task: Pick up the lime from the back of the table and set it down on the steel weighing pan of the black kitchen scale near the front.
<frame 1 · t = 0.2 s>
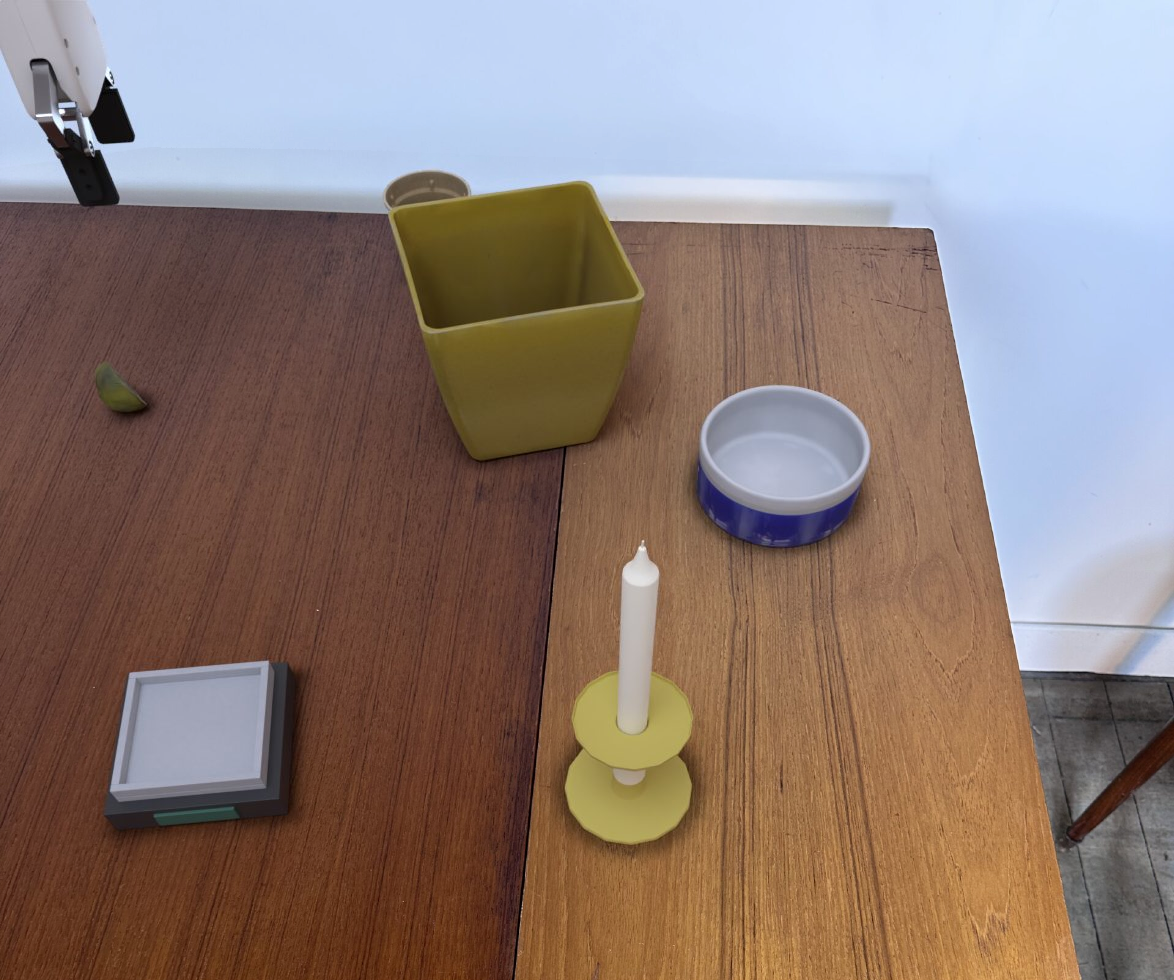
hand: (109, 171, 83), 21 cm above the table, tool pointing down, fingers open, 9 cm apart
candle: (628, 789, 76), on the table
flower pot 2: (523, 413, 99), on the table
flower pot: (438, 272, 111), on the table
scale: (210, 751, 78), on the table
dog bowl: (774, 492, 93), on the table
lime: (131, 410, 99), on the table
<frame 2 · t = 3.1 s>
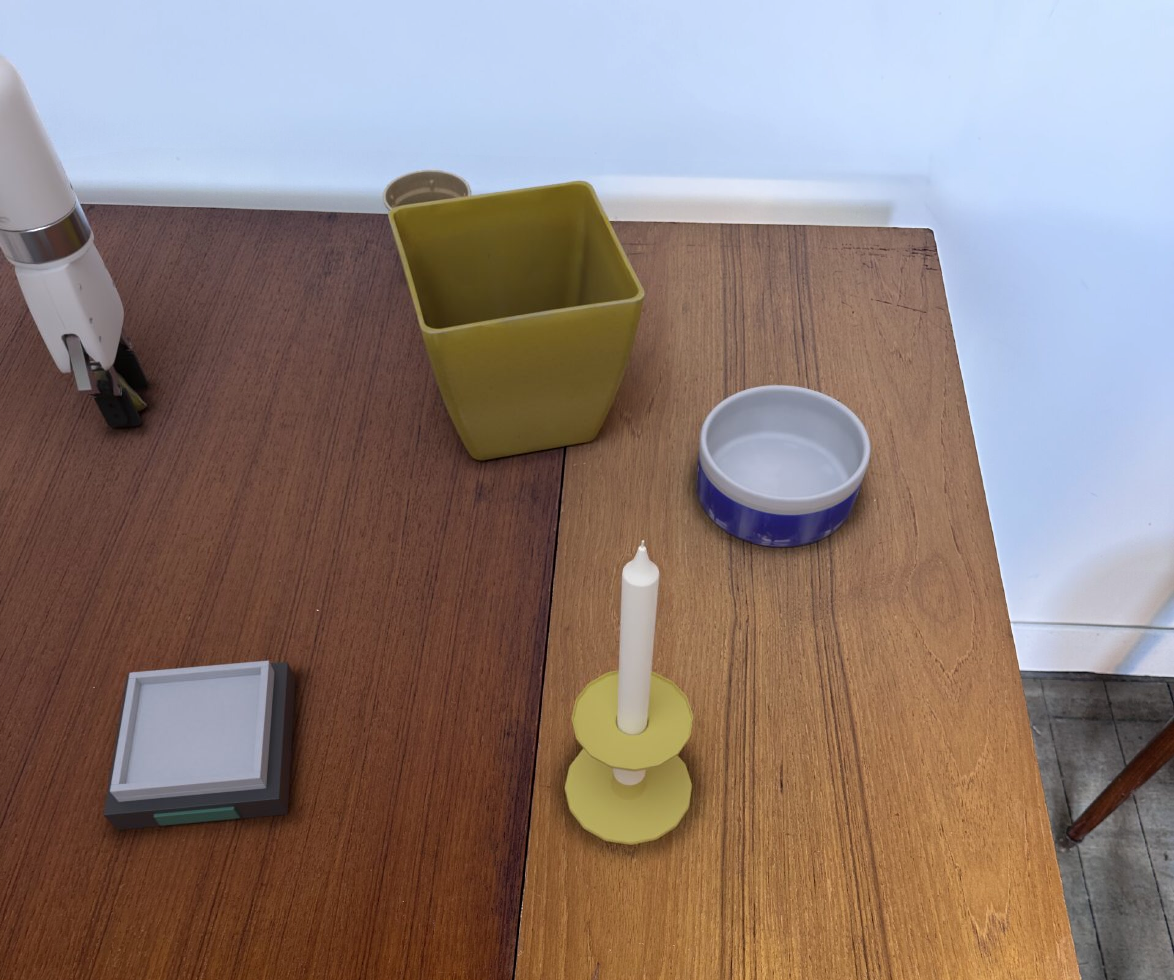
hand: (129, 404, 99), 0 cm above the table, tool pointing down, fingers closed on lime, 5 cm apart
lime: (131, 411, 99), on the table, touching gripper
everything else where it was.
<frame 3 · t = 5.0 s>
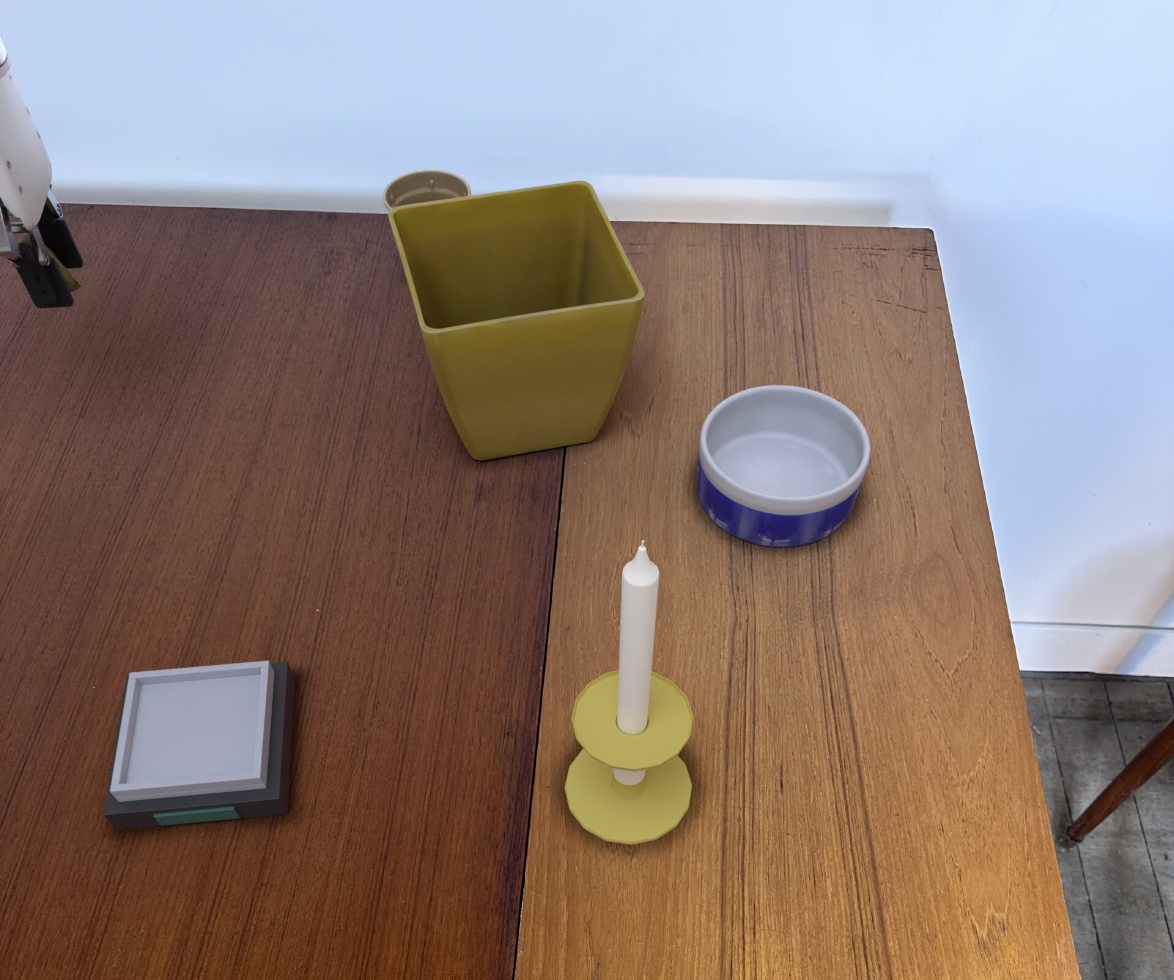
hand: (60, 284, 86), 14 cm above the table, tool pointing down, fingers closed on lime, 5 cm apart
lime: (63, 292, 86), point 14 cm above the table, touching gripper
everything else where it was.
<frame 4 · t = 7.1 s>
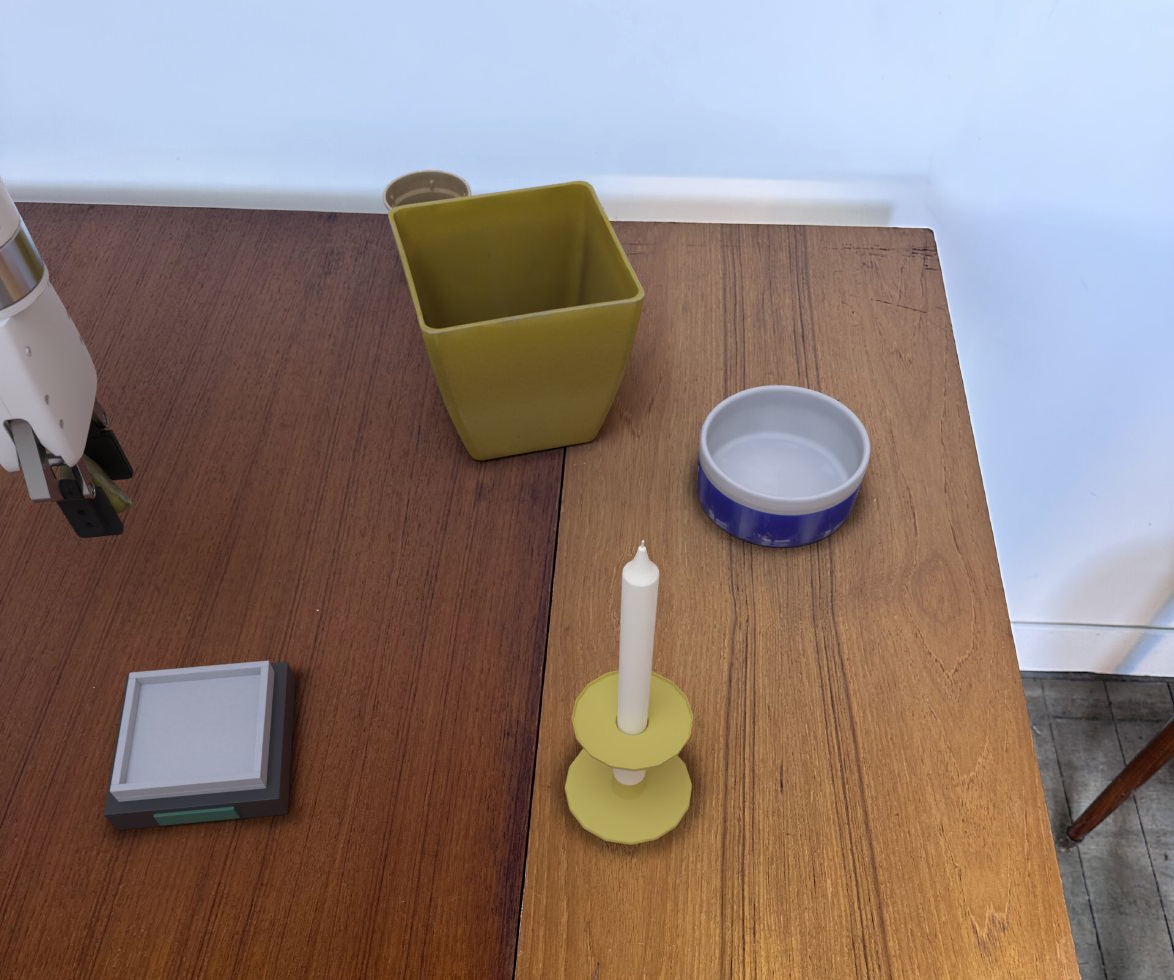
hand: (106, 503, 71), 16 cm above the table, tool pointing down, fingers closed on lime, 5 cm apart
lime: (111, 511, 71), point 15 cm above the table, touching gripper
everything else where it was.
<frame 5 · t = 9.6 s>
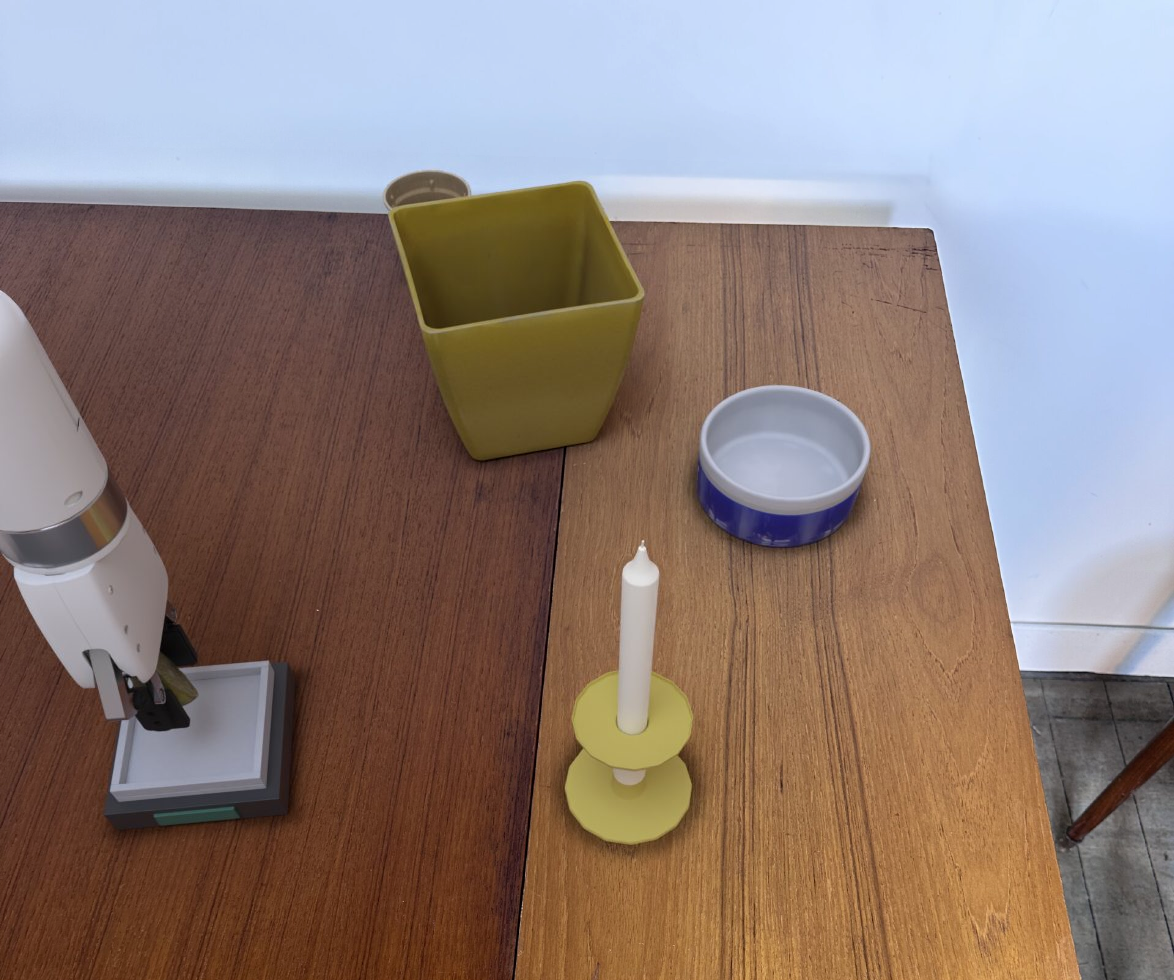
hand: (172, 692, 71), 8 cm above the table, tool pointing down, fingers closed on lime, 5 cm apart
lime: (176, 699, 72), point 7 cm above the table, touching gripper
everything else where it was.
when the fingers open (4 cm above the table, at t = 11.1 s): lime stays where it is, resting on scale.
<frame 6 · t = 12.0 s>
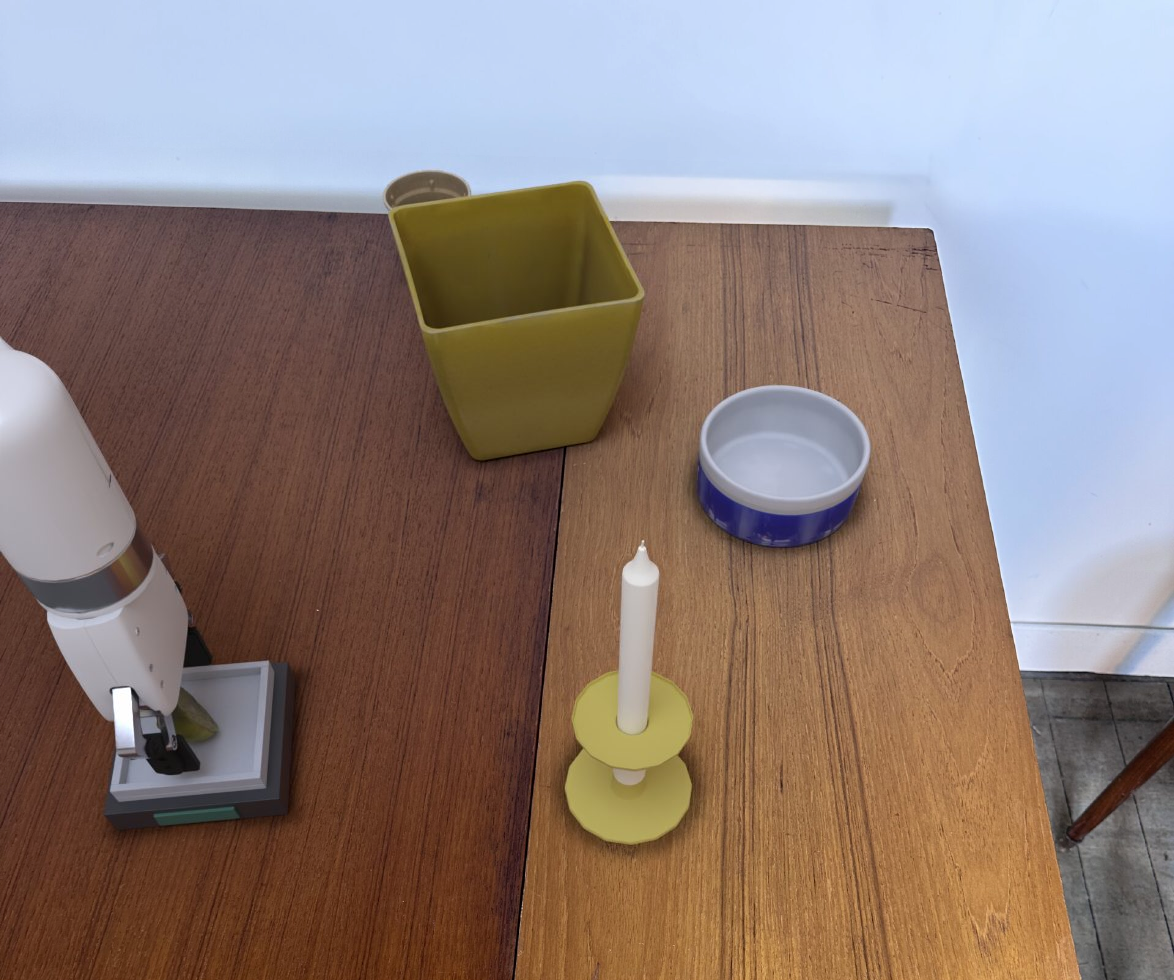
hand: (186, 714, 74), 5 cm above the table, tool pointing down, fingers open, 9 cm apart
lime: (197, 732, 76), point 3 cm above the table, touching scale
everything else where it was.
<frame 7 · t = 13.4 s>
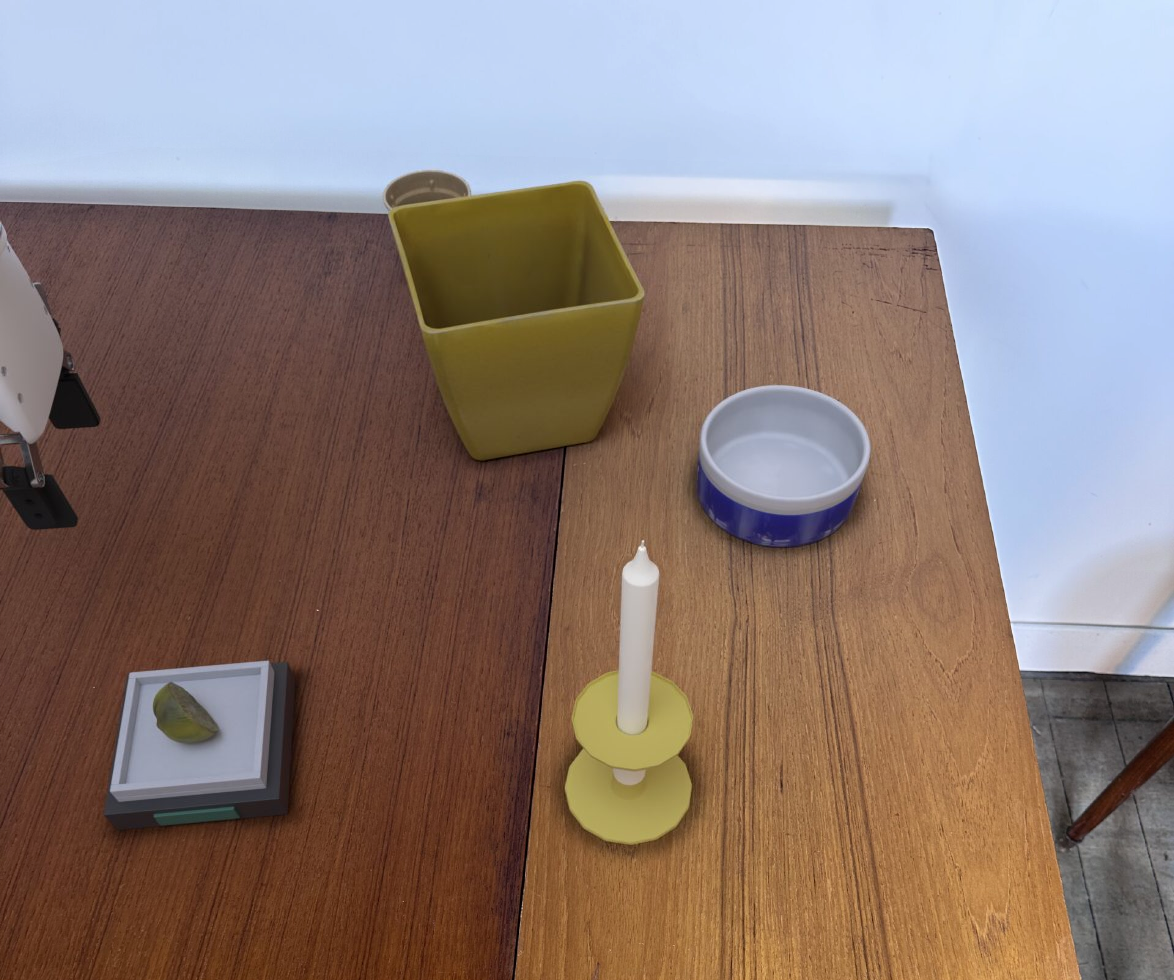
hand: (67, 473, 67), 20 cm above the table, tool pointing down, fingers open, 9 cm apart
nothing on the table moved.
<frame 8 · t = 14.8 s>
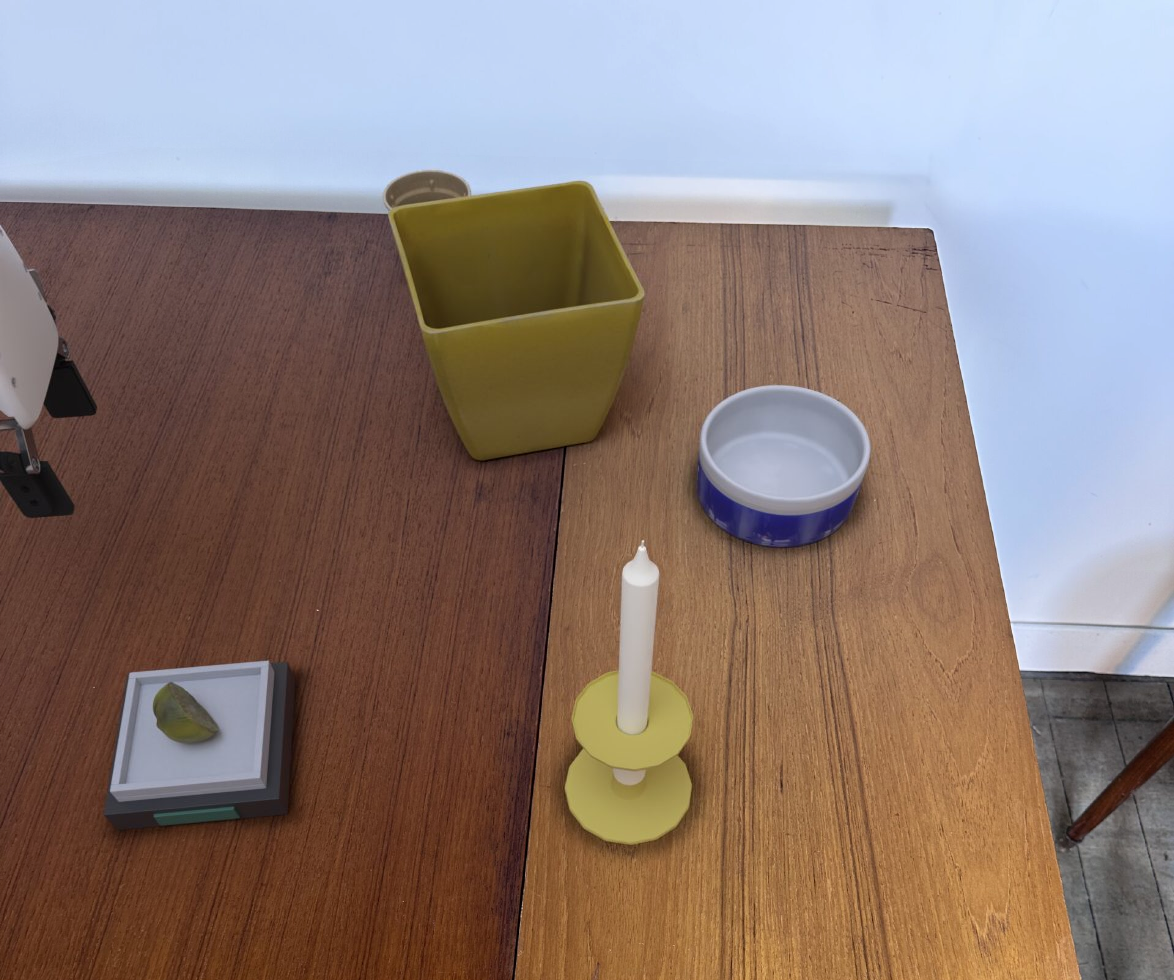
hand: (63, 462, 66), 20 cm above the table, tool pointing down, fingers open, 9 cm apart
nothing on the table moved.
at the end: lime inside the target area on the scale (0.1 cm from its centre), point 2.9 cm above the scale's base; the gripper is holding nothing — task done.
